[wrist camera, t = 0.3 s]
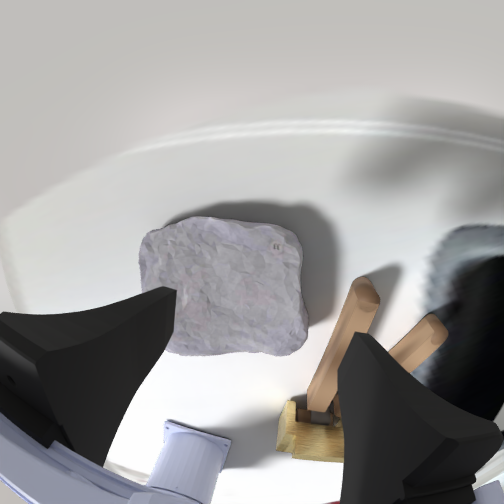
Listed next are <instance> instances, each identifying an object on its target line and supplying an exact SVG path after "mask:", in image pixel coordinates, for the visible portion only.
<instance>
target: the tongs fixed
mask: <svg viewBox="0 0 504 504" xmlns="http://www.w3.org/2000/svg"><path fill="white" fill-rule="evenodd" d="M379 304H380V297H379V295H378V293H377V292H376V290H375V288H374V287H373V285H372V283H371V282H370V280H369V279H368V278H366V277H359V278H357V279H355V280H354V281H353V283H352V285H351V287H350V290H349V293H348V295H347V298H346V301H345V303H344V306H343V309H342V311H341V314H340V316H339V319H338V321H337V324H336V326H335V329H334V331H333V334H332V336H331V338H330V341H329V343H328V346H327V348H326V350H325V352H324V355H323V357H322V359H321V362H320V364H319V366H318V368H317V370H316V373H315V375H314V377H313V379H312V381H311V383H310V385H309V387H308V389H307V410H306V409H299V408H298V409H297V411H296V413H295V421H296V422H302V423H309V424H317V425H325V426H334V424H333V414H332V413H330V406H329V405H330V403H331V401H332V399H333V398H334V396H335V394H336V392H337V391H338V390H337V369H338V367H339V365H340V363H341V361H342V359H343V357H344V355H345V353H346V350H347V348H348V346H349V344H350V341H351V339H352V337H353V335H354V332H355V331H356V332H362V333H367V332H368V329H369V327H370V325H371V323H372V320H373V318H374V316H375V314H376V311H377V309H378V306H379Z"/></svg>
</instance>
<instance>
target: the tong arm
mask: <svg viewBox="0 0 504 504" xmlns="http://www.w3.org/2000/svg"><path fill="white" fill-rule="evenodd" d="M447 336H448V331H447V329H446V328H445V327H444V325H443V324H442V323H441V321H440V320H439V319H438V318H437V316H436V315H435V314H428V315H427V316H425V317H424V318H423V319H422V320H421V321H420V322H419V323H418V324H417V325H416V326H415V327H414V328H413V329H412V330H411V331H410V332H409V333H408V334H407V335H406V336H405V337H404V338H403V339H402V340H401V341H400V342H399V343H398V344H397V345H396V346H395V347H393V348H392V349H391V350H390V351H389V352H388V353H389V354H390V355H391V356H392V357H393V358H394V359H395V360H396V361H397V362H398V363H399V364H400V365H401V366H402V367H403V368H404V369H405V370H406V371H407V372H409V373H411V372H412V371H413V370H414V369H415V368H416V367H418V366H419V365H420V364H421V363H422V362H423V361H424V360H425V359H426V358H427V357H429V356H430V355H431V354H432V353H433V352H434V351H435V350H436V349H437V348H438V347H439V346H440V345H441V344H442V343H443V342H444V341H445V340H446V338H447ZM333 404H334V413H335V416H337V417H339V418H341V412H340V405H339V398H338V394H337V395H335V396H334V398H333Z"/></svg>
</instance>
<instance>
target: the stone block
mask: <svg viewBox="0 0 504 504" xmlns="http://www.w3.org/2000/svg"><path fill="white" fill-rule="evenodd" d="M302 263H303V250H302V246H301V244H300V243H299V241H298V238H297V236H296V234H294V233H293V232H292V231H290V230H287V229H285V228H283V227H281V226H278V225H273V224H268V223H253V222H242V221H238V220H235V219H220V218H215V217H201V216H193V217H190V218H188V219H184V220H182V221H180V222H178V223H176V224H171V225H168V226H166V227H165V228H162V229H156V230H152V231H150V232H148V233H147V234H146V236H145V237H144V238H143V240H142V243H141V246H140V251H139V265H140V275H141V286H142V293H144V292H147V291H150V290H152V289H155V288H158V287H162V286H165V287H168V288H172V289H175V290H177V297H176V308H175V321H174V332H173V334H172V336H171V338H170V340H169V343H168V344H167V346H166V348H165V350H166V351H168V352H171V353H176V354H179V355H182V356H210V355H221V354H226V353H234V352H250V353H258V352H263V353H266V354H270V355H274V356H287V355H290V354H292V353H293V352H295V351H297V350H298V349H300V348H301V347H302V345H303V344H304V343H305V341H306V340H307V338H308V322H309V318H308V313H307V310H306V307H305V304H304V301H303V298H302V293H301V282H300V275H301V267H302Z"/></svg>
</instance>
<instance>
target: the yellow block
mask: <svg viewBox="0 0 504 504" xmlns="http://www.w3.org/2000/svg"><path fill="white" fill-rule="evenodd" d="M295 413H296V402H294V401H289V400H288V401H287V403H286V405H285V407H284V409H283V411H282V413H281V416H280V418H279V424H278V435H277V445H276V451H282V452H289V453H292V458H295V459H303V460H313V461H324V462H340V463H344V433H343V426H342V419H341V418H340V420H339V421H338V423H337V424H336V426H335V427H334V426H325V425H317V424H309V423H302V422H296V421H295Z"/></svg>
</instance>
